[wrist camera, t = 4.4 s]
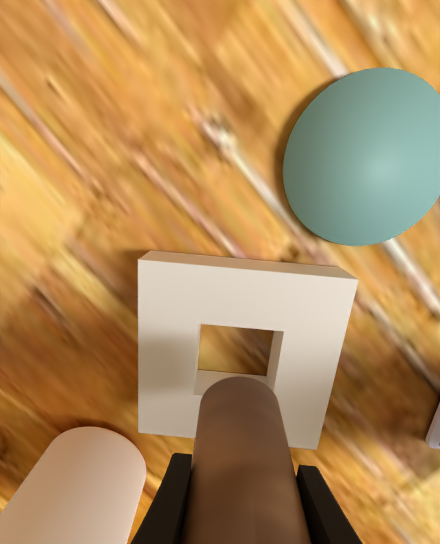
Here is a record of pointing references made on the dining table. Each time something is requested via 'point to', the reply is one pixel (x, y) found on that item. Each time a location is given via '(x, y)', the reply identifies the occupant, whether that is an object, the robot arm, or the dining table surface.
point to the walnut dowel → (242, 471)
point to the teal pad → (365, 157)
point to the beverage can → (78, 492)
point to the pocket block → (247, 314)
